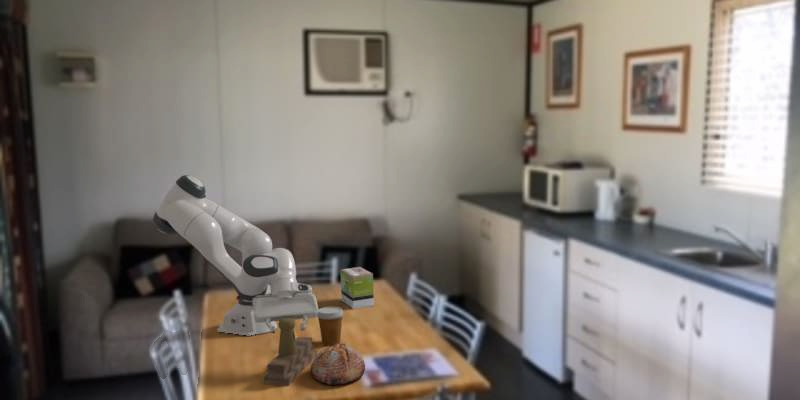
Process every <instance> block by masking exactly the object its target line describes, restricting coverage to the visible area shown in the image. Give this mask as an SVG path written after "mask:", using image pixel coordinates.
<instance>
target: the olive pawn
mask: <svg viewBox="0 0 800 400" xmlns="http://www.w3.org/2000/svg"><path fill="white" fill-rule="evenodd" d="M295 327H296V321H295V320H294V319H292V318H283V319H281V320H280V321H278V329H280V330H279V331H280V332H279V344H278V355H281V356H291V355H295V354H297V353H298V350H297V345H296V335H295Z"/></svg>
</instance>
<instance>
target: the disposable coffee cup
mask: <svg viewBox="0 0 800 400" xmlns="http://www.w3.org/2000/svg"><path fill="white" fill-rule="evenodd" d="M343 316H344V311H343V309H342V308H341V307H339V306H325V307H321V308H318V315H317V318H318V325H319V329H320V336H321V343H322V344H323V346H332V345H334V344H335V343H336V342H338V344H339V345H340V344H341V336H342V325H343V324H342V323H343Z"/></svg>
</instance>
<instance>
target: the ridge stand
mask: <svg viewBox="0 0 800 400" xmlns="http://www.w3.org/2000/svg"><path fill="white" fill-rule="evenodd" d="M295 339H296V345H297V350H298V353H297V354H295V355H291V356H281V355H279V354H278V355H276V357H275V358H273V359H272V360H271V361H270V362H269V363H268V364H267V374H265V376H264V377H263V385H274V384H276V385H275V386H277V385H278V386H290V385H291V384H292V383H293V382H294V381H295V380H296V378H297V377H298V376H299V375H300V374H301V373H302V372H303V371H304V370H305V369H306V367H307V366H308V365H309V364H310V363H312V362H313V360H314V358H315V357H316V356H317V355H318V352H317V350H318V349H316V348H315V349H314V348H313V337H299V336H298V337H295Z"/></svg>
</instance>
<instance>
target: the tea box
mask: <svg viewBox="0 0 800 400" xmlns="http://www.w3.org/2000/svg"><path fill="white" fill-rule="evenodd" d="M339 271H340V272H339V273H340V287H341V289H340V292H341V302H344V303H345V304H346V305H347V306H348V307H350V309H351V308H352V310H357V309H364V308H370V307H374V305H375V299H374V297H375V296H374V294H375V293H374V273H373V272H371V271H369V270H366V269H365V268H363V267H362V266H356V267H351V268H342V269H341V268H340V270H339Z"/></svg>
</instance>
